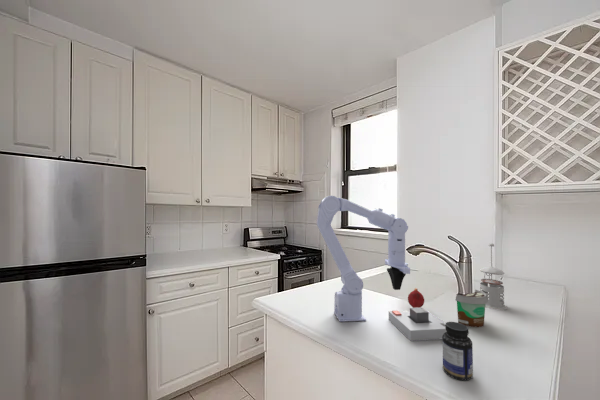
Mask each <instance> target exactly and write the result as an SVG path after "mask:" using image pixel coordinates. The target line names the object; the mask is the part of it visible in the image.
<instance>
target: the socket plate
mask: <svg viewBox="0 0 600 400" xmlns="http://www.w3.org/2000/svg"><path fill="white" fill-rule="evenodd" d="M425 310H426V311H427V312H429V323H415V322H414V321H413V320H411V319H410V310H390V311H388V321H389V322H390V323H391V324H392V325H393V326H395V328H396V329H397V330H399V331H400V332H401V334H403V335H404V336H405V337H406V338H407V339H408V340H409V341H410V342H416V341H417V342H419V341H433V340H435V341H436V340H442V336H443V334H444V333H445V332H447V331H446V329H445V327H446V326H445V324H446V323H447V322H445V321H444V320H443V319H441V318H440V317H438V316H436V315H435V314H434V313H431V312H430V311H429V310H428V309H425Z"/></svg>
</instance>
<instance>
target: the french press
mask: <svg viewBox="0 0 600 400" xmlns="http://www.w3.org/2000/svg"><path fill="white" fill-rule="evenodd" d="M488 246H489V247H490V266H485V267H482V268H480V269H479V271H480V272H481V273H484V277H483V278H481V279H480V280H481V282H479V286H480V288H479V291H481V292H483V293H485V294H486V296H487V299H488V303H486V304H485V309H486V308H487V309H492V310H497V311H505V310H508V306H506V304H505V286H504V285H503V284H504V283H503V281H501V280H499V279H498V280H496V279H493V275H497V276H501V275H502V276H503V275H504V274H505V272H504V270H502V269H499V268H497V267H494V266H493V263H492V262H493V255H492V254H493V252H492V249H493V248H492V247H495V244H494V243H492V242H490V243H488ZM486 276H487V277H488V278H486Z"/></svg>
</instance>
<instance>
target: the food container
mask: <svg viewBox="0 0 600 400" xmlns="http://www.w3.org/2000/svg"><path fill="white" fill-rule="evenodd" d="M488 299H489V298H488ZM488 299H487V296H486V294H485V293H483V292H481V291H480V290H478V289H475V290H474V292H472V293H471V292H469V293H467V292H466V293H464V294H463V295H462V294H461V295H460V294H458V293H457V294H456V295H455V302H456V310H457V312H456V313H457V320H458V323H461V324H463V325H465V326H467V327H468V328H469V327H470V328H483V327H484V325H485V314H486V313H485V312H486V307H485V304H486V303H488Z"/></svg>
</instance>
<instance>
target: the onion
mask: <svg viewBox="0 0 600 400" xmlns="http://www.w3.org/2000/svg"><path fill="white" fill-rule="evenodd" d="M407 302H408V304H409V305H410V306H411V308H420V307H421V308H423V306H424V305H425V298H424V295H423V294H422V293H421V292H420V290H419V291H418V288H416V287H415V288H414V289H413V290H412V291H411V292H410V293H408V297H407Z"/></svg>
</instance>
